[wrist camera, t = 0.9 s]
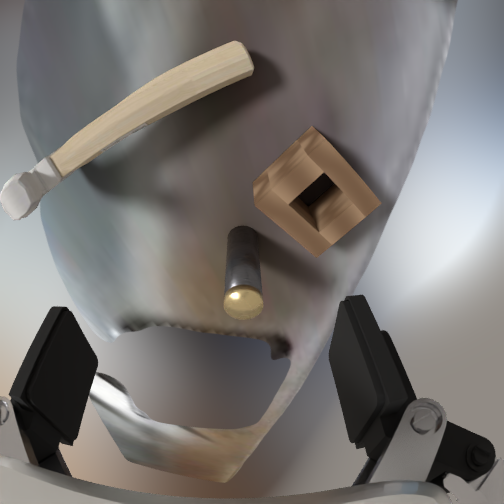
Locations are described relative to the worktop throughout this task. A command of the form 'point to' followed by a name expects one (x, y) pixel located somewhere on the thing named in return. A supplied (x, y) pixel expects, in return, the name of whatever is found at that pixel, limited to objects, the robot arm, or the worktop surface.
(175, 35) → the worktop surface
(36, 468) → the robot arm
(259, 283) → the dark grey capped cylinder
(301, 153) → the socket block
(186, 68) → the hammer
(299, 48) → the worktop surface
